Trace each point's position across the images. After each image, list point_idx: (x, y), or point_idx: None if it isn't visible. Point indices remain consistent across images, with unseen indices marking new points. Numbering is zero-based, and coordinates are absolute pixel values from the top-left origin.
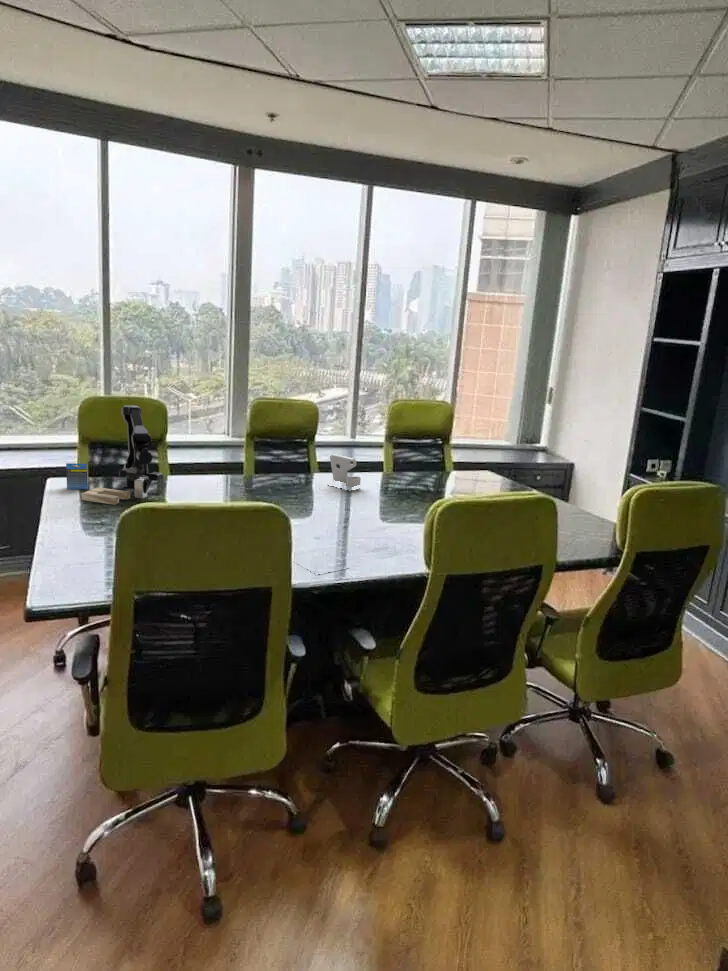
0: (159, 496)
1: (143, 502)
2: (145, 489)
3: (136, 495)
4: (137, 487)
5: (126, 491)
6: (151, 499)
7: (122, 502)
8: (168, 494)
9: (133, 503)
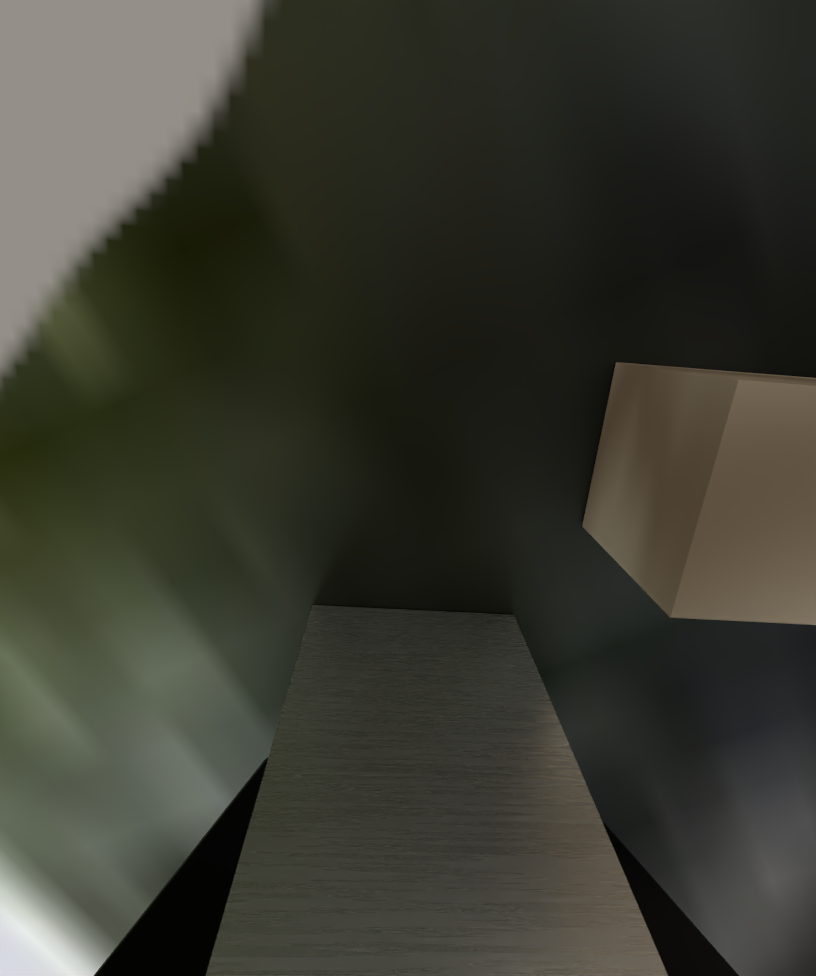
0: (106, 838)
1: (95, 290)
2: (199, 868)
3: (477, 644)
4: (492, 878)
5: (799, 599)
6: (102, 612)
7: (631, 25)
8: (55, 972)
9: (281, 51)
